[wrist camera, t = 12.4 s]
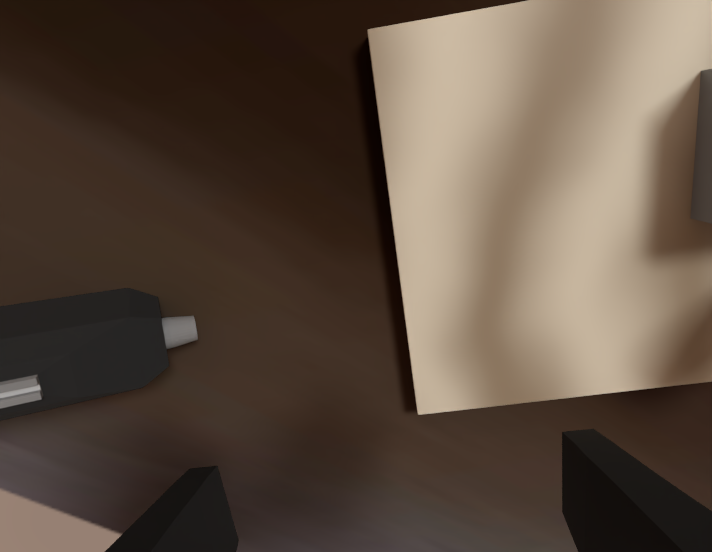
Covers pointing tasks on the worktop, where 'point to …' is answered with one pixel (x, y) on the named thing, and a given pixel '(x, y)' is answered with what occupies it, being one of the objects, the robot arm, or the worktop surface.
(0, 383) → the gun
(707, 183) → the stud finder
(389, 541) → the worktop surface
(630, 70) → the board
